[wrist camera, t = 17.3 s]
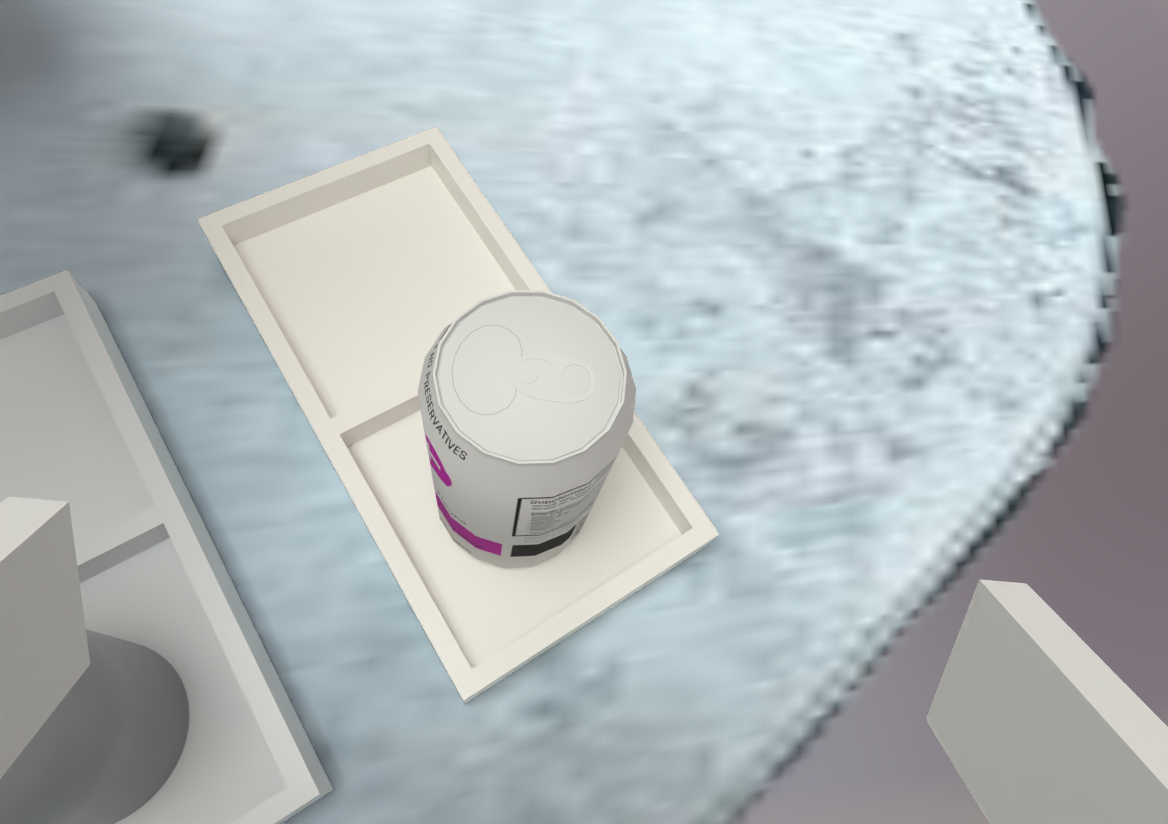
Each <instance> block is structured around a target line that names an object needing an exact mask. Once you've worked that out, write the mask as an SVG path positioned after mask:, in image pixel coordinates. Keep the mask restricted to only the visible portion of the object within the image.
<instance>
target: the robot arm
mask: <svg viewBox="0 0 1168 824" xmlns="http://www.w3.org/2000/svg"><path fill="white" fill-rule="evenodd" d="M89 665H90V658H89V650H88V643H87V635H86V627H85V620H84V612H83V605H82V597H81V589H80V582H79V574H78V567H77V559H76V552H75V544H74V536H73V529H72V521H71V514H70V506H69V502H66V501H54V500H42V499H30V498H19V497H8V498H6V499H5V500H4V501H3V502H1V503H0V779H1V778H2V776H3V775H4V774H5V773H6V771H7V770H8V769H9V768H10V766H11V765H12V764H13V762H14V761H15V760H16V759H17V757H18V756H19V755H20V753H21V752H22V751H23V750H24V748H25V747H26V746H27V745H28V743H29V742H30V741H31V739H32V738H33V737H34V736H35V734H36V733H37V732H38V730H39V729H40V728H41V727H42V725H43V724H44V723H45V721H46V720H47V719H48V718H49V716H50V715H51V714H52V713H53V711H54V710H55V709H56V707H57V706H58V705H59V704H60V702H61V701H62V700H63V698H64V697H65V696H66V695H67V693H68V692H69V691H70V689H71V688H72V687H73V686H74V684H75V683H76V682H77V681H78V679H79V678H80V677H81V675H82V674H83V673H84V672H85V670H86V669H87V668H88V666H89ZM926 720H927V722H928V724H929V725H930V727H931V729H932V730H933V732H934V733H935V735H936V737H937V738H938V740H939V741H940V743H941V745H942V746H943V748H944V750H945V751H946V753H947V755H948V756H949V758H950V760H951V761H952V763H953V764H954V766H955V768H956V769H957V771H958V773H959V774H960V776H961V777H962V779H963V781H964V782H965V784H966V785H967V787H968V789H969V790H970V792H971V794H972V795H973V797H974V799H975V800H976V802H977V804H978V805H979V807H980V808H981V810H982V812H983V813H984V815H985V817H986V818H987V820H988V822H989V823H990V824H1168V727H1167V726H1166V725H1165V724H1164V723H1163V722H1162V721H1161V720H1160V719H1159V718H1158V717H1157V716H1156V715H1155V714H1154V713H1153V712H1152V711H1151V710H1150V709H1149V708H1148V707H1147V706H1146V705H1145V704H1144V703H1143V702H1142V701H1141V700H1140V699H1139V697H1138V696H1136V694H1134V693H1133V691H1132V690H1131V689H1130V688H1129V687H1128V686H1127V685H1126V684H1125V683H1124V682H1123V681H1122V680H1120V678H1119V677H1118V676H1117V675H1116V674H1115V673H1114V672H1113V671H1112V670H1111V669H1110V668H1109V667H1108V666H1107V665H1106V664H1105V663H1104V662H1103V661H1102V660H1101V659H1100V658H1099V657H1098V656H1097V655H1096V654H1095V653H1094V652H1093V651H1092V650H1091V649H1090V648H1089V647H1088V646H1087V645H1086V644H1085V643H1084V642H1083V641H1082V640H1081V639H1080V638H1079V637H1078V636H1077V635H1076V634H1075V633H1074V631H1073V630H1072V629H1071V628H1069V626H1068V625H1067V624H1066V623H1065V622H1064V621H1063V620H1062V619H1061V618H1060V617H1059V616H1058V615H1057V614H1056V613H1055V612H1054V611H1053V610H1052V609H1051V608H1050V607H1049V606H1048V605H1047V604H1046V603H1045V602H1044V601H1043V600H1042V599H1041V598H1040V597H1039V596H1038V595H1037V594H1036V593H1035V592H1034V591H1033V590H1032V589H1031V588H1030V587H1029V586H1028V585H1027V584H1025V583H1012V582H1000V581H989V580H979V582H978V585H977V587H976V590H975V592H974V595H973V598H972V601H971V603H970V606H969V608H968V611H967V613H966V616H965V619H964V621H963V624H962V626H961V629H960V632H959V634H958V637H957V639H956V642H955V645H954V647H953V650H952V652H951V655H950V658H949V660H948V663H947V666H946V668H945V671H944V674H943V676H942V679H941V681H940V684H939V686H938V689H937V692H936V694H935V697H934V699H933V702H932V705H931V708H930V710H929V713H928V715H927V718H926Z"/></svg>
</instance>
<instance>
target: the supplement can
mask: <svg viewBox="0 0 1168 824" xmlns="http://www.w3.org/2000/svg"><path fill="white" fill-rule="evenodd" d="M635 393H636V388H635V384H634V381H633V378H632V374H631V371H630V367H629V364H628V361H627V357H626V355H625V354H624V352H623V351H622V350H621V348H620V347H619V344H618V342H617V340H616V339H615V338H614V336H613V335H612V334H611V332H610V331H609V330H608V328H607V327H606V326H605V324H604V323H603V322H602V320H601V319H600V318H599V317H598V316H596V315H595V314H593V313H592V312H591V311H589V310H588V309H586V308H585V307H583V306H582V305H581V304H579V303H578V302H576V301H575V300H573V299H569V298H566V297H563V296H560V295H557V294H553V293H550V292H547V291H544V290H510V291H507V292H504V293H500V294H497V295H494V296H491V297H488V298H484V299H481V300H479V301H478V302H477V303H475V304H474V305H473V306H471V307H470V308H469V309H467V310H466V311H464V312H463V313H462V314H460V315H459V316H458V317H456V318H455V320H454V321H453V322H452V323H451V324H449V325H448V326H447V327H445V328H444V329H443V331H442V332H441V334H440V335H439V337H438V338H437V340H436V341H435V343H434V344H433V346H432V347H431V349H430V350H429V352H428V353H427V355H426V356H425V358H424V363H423V368H422V373H421V377H420V382H419V387H418V397H419V403H420V409H421V415H422V420H423V426H424V432H425V438H426V443H427V449H428V455H429V461H430V466H431V472H432V478H433V484H434V489H435V495H436V500H437V506H438V511H439V517H440V520H441V521H442V523H443V524H444V526H445V528H446V529H447V531H448V533H449V534H450V536H451V537H452V539H453V541H454V542H455V543H456V544H458V545H459V546H460V547H462V548H463V549H464V550H465V551H467V552H468V553H469V554H471V555H472V556H473V557H474V558H476V559H478V560H481V561H485V562H488V563H491V564H494V565H497V566H501V567H522V566H533V565H535V564H538V563H540V562H543V561H545V560H547V559H550V558H552V557H555V556H557V555H558V554H559V553H560V552H562V551H563V550H564V549H565V548H566V547H567V546H568V545H569V544H570V543H571V542H572V541H573V540H574V539H576V538H577V537H578V535H579V533H580V531H581V529H582V527H583V525H584V523H585V521H586V519H587V517H588V515H589V513H590V511H591V508H592V506H593V504H594V502H595V500H596V498H597V496H598V494H599V492H600V490H601V488H602V486H603V484H604V482H605V480H606V477H607V475H608V473H609V471H610V469H611V467H612V465H613V463H614V461H615V459H616V457H617V455H618V453H619V451H620V449H621V446H622V444H623V442H624V440H625V438H626V436H627V434H628V432H629V430H630V428H631V426H632V424H633V416H634V404H635Z"/></svg>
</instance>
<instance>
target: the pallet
mask: <svg viewBox="0 0 1168 824" xmlns="http://www.w3.org/2000/svg"><path fill="white" fill-rule="evenodd" d="M197 220H198V222H199V224H200V226H201V227H202V229H203V231H204V233H205V235H206V237H207V239H208V241H209V242H210V244H211V246H212V248H213V250H214V252H215V254H216V255H217V257H218V259H219V261H220V263H221V264H222V266H223V268H224V270H225V272H226V274H227V275H228V277H229V279H230V281H231V283H232V284H233V286H234V288H235V290H236V292H237V293H238V295H239V297H240V299H241V301H242V302H243V304H244V306H245V308H246V310H247V311H248V313H249V315H250V317H251V319H252V321H253V322H254V324H255V326H256V328H257V330H258V331H259V333H260V335H261V337H262V339H263V340H264V342H265V344H266V346H267V348H268V349H269V351H270V353H271V355H272V357H273V358H274V360H275V362H276V364H277V366H278V368H279V369H280V371H281V373H282V375H283V377H284V378H285V380H286V382H287V384H288V386H289V387H290V389H291V391H292V393H293V395H294V396H295V398H296V400H297V402H298V404H299V406H300V407H301V409H302V411H303V413H304V415H305V416H306V418H307V420H308V422H309V424H310V425H311V427H312V429H313V431H314V433H315V434H316V436H317V438H318V440H319V442H320V443H321V445H322V447H323V449H324V451H325V453H326V454H327V456H328V458H329V460H330V462H331V463H332V465H333V467H334V469H335V471H336V472H337V474H338V476H339V478H340V480H341V481H342V483H343V485H344V487H345V489H346V490H347V492H348V494H349V496H350V498H351V500H352V501H353V503H354V505H355V507H356V509H357V510H358V512H359V514H360V516H361V518H362V519H363V521H364V523H365V525H366V527H367V528H368V530H369V532H370V534H371V536H372V538H373V539H374V541H375V543H376V545H377V547H378V548H379V550H380V552H381V554H382V556H383V557H384V559H385V561H386V563H387V565H388V566H389V568H390V570H391V572H392V574H393V575H394V577H395V579H396V581H397V583H398V585H399V586H400V588H401V590H402V592H403V594H404V595H405V597H406V599H407V601H408V603H409V604H410V606H411V608H412V610H413V612H414V613H415V615H416V617H417V619H418V621H419V623H420V624H421V626H422V628H423V630H424V632H425V633H426V635H427V637H428V639H429V641H430V642H431V644H432V646H433V648H434V650H435V651H436V653H437V655H438V657H439V659H440V660H441V662H442V664H443V666H444V668H445V670H446V671H447V673H448V675H449V677H450V679H451V680H452V682H453V684H454V686H455V688H456V689H457V691H458V693H459V695H460V697H461V698H462V700H463V702H464V704H466V703H467V702H469V701H470V700H472V699H473V698H475V697H476V696H478V695H479V694H481V693H483V692H484V691H486V690H487V689H489V688H490V687H492V686H493V685H495V684H496V683H498V682H499V681H501V680H502V679H504V678H506V677H507V676H509V675H510V674H512V673H513V672H515V671H516V670H518V669H519V668H521V667H522V666H524V665H525V664H527V663H529V662H530V661H532V660H533V659H535V658H536V657H538V656H539V655H541V654H542V653H544V652H545V651H547V650H548V649H550V648H552V647H553V646H555V645H556V644H558V643H559V642H561V641H562V640H564V639H565V638H567V637H568V636H570V635H571V634H573V633H575V632H576V631H578V630H579V629H581V628H582V627H584V626H585V625H587V624H588V623H590V622H591V621H593V620H595V619H596V618H598V617H599V616H601V615H602V614H604V613H605V612H607V611H608V610H610V609H611V608H613V607H614V606H616V605H618V604H619V603H621V602H622V601H624V600H625V599H627V598H628V597H630V596H631V595H633V594H634V593H636V592H637V591H639V590H641V589H642V588H644V587H645V586H647V585H648V584H650V583H651V582H653V581H654V580H656V579H657V578H659V577H660V576H662V575H664V574H665V573H667V572H668V571H670V570H671V569H673V568H674V567H676V566H677V565H679V564H680V563H682V562H684V561H685V560H687V559H688V558H690V557H691V556H693V555H694V554H696V553H697V552H699V551H700V550H702V549H703V548H704V547H705V546H706V545H708V544H709V543H710V542H711V541H712V540H713V539H715V538H716V537H717V536H718V535H719V533H718V532H717V530H716V529H715V527H714V526H713V524H712V523H711V522H710V520H709V519H708V517H707V516H706V514H705V513H704V511H703V510H702V509H701V507H700V506H699V504H698V503H697V501H696V500H695V498H694V497H693V496H692V494H691V493H690V491H689V490H688V488H687V487H686V486H685V484H684V483H683V481H682V480H681V478H680V477H679V475H678V474H677V473H676V471H675V470H674V468H673V467H672V465H671V464H670V462H669V461H668V460H667V458H666V457H665V455H664V454H663V452H662V451H661V450H660V448H659V447H658V445H657V444H656V442H655V441H654V439H653V438H652V437H651V435H650V434H649V432H648V431H647V429H646V428H645V427H644V425H643V424H642V422H641V421H640V419H639V418H638V416H637V415H636V414H635V412H634V416H633V424H632V426H631V428H630V430H629V432H628V434H627V436H626V438H625V440H624V442H623V444H622V446H621V449H620V451H619V453H618V455H617V457H616V459H615V461H614V463H613V465H612V467H611V469H610V471H609V473H608V475H607V477H606V480H605V482H604V484H603V486H602V488H601V490H600V492H599V494H598V496H597V498H596V500H595V502H594V504H593V506H592V508H591V511H590V513H589V515H588V517H587V519H586V521H585V523H584V525H583V527H582V529H581V531H580V533H579V535H578V537H577V538H576V539H574V540H573V541H572V542H571V543H570V544H569V545H568V546H567V547H566V548H565V549H564V550H563V551H562V552H560V553H559V554H558V555H557V556H555V557H552V558H550V559H547V560H545V561H543V562H540V563H538V564H535V565H533V566H522V567H501V566H497V565H494V564H491V563H488V562H485V561H481V560H478V559H476V558H474V557H473V556H472V555H471V554H469V553H468V552H467V551H465V550H464V549H463V548H462V547H460V546H459V545H458V544H456V543H455V542H454V541H453V539H452V537H451V536H450V534H449V533H448V531H447V529H446V528H445V526H444V524H443V523H442V521H441V520H440V517H439V511H438V506H437V500H436V495H435V489H434V484H433V478H432V472H431V466H430V461H429V455H428V449H427V443H426V438H425V432H424V426H423V420H422V415H421V409H420V403H419V397H418V387H419V382H420V377H421V373H422V368H423V363H424V358H425V356H426V355H427V353H428V352H429V350H430V349H431V347H432V346H433V344H434V343H435V341H436V340H437V338H438V337H439V335H440V334H441V332H442V331H443V329H444V328H445V327H447V326H448V325H449V324H451V323H452V322H453V321H454V320H455V318H456V317H458V316H459V315H460V314H462V313H463V312H464V311H466V310H467V309H469V308H470V307H471V306H473V305H474V304H475V303H477V302H478V301H479V300H481V299H484V298H488V297H491V296H494V295H497V294H500V293H504V292H507V291H510V290H544V291H547V292H550V293H551V291H550V290H549V288H548V287H547V285H546V284H545V283H544V281H543V280H542V278H541V277H540V275H539V274H538V272H537V271H536V270H535V268H534V267H533V265H532V264H531V262H530V261H529V259H528V258H527V257H526V255H525V254H524V252H523V251H522V249H521V248H520V247H519V245H518V244H517V242H516V241H515V239H514V238H513V236H512V235H511V234H510V232H509V231H508V229H507V228H506V226H505V225H504V224H503V222H502V221H501V219H500V218H499V216H498V215H497V213H496V212H495V211H494V209H493V208H492V206H491V205H490V203H489V202H488V200H487V199H486V198H485V196H484V195H483V193H482V192H481V190H480V189H479V188H478V186H477V185H476V183H475V182H474V180H473V179H472V177H471V176H470V175H469V173H468V172H467V170H466V169H465V167H464V166H463V164H462V163H461V162H460V160H459V159H458V157H457V156H456V154H455V153H454V152H453V150H452V149H451V147H450V146H449V144H448V143H447V141H446V140H445V139H444V137H443V136H442V134H441V133H440V131H439V130H438V128H437V127H434V128H431V129H428V130H426V131H423V132H421V133H418V134H415V135H413V136H410V137H408V138H405V139H403V140H400V141H397V142H395V143H392V144H390V145H387V146H385V147H382V148H379V149H377V150H374V151H372V152H369V153H366V154H364V155H361V156H359V157H356V158H354V159H351V160H348V161H346V162H343V163H341V164H338V165H335V166H333V167H330V168H328V169H325V170H323V171H320V172H317V173H315V174H312V175H310V176H307V177H304V178H302V179H299V180H297V181H294V182H292V183H289V184H286V185H284V186H281V187H279V188H276V189H273V190H271V191H268V192H266V193H263V194H261V195H258V196H255V197H253V198H250V199H248V200H245V201H242V202H240V203H237V204H235V205H232V206H230V207H227V208H224V209H222V210H219V211H217V212H214V213H211V214H209V215H206V216H204V217H201V218H199V219H197Z"/></svg>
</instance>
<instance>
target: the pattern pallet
mask: <svg viewBox="0 0 1168 824" xmlns="http://www.w3.org/2000/svg"><path fill="white" fill-rule="evenodd" d="M8 497H19V498H30V499H42V500H54V501H66V502H69V506H70V514H71V521H72V529H73V536H74V544H75V552H76V559H77V567H78V574H79V582H80V589H81V597H82V605H83V612H84V620H85V627H86V635H87V643H88V650H89V658H90V665H89V666H88V668H87V669H86V670H85V672H84V673H83V674H82V675H81V677H80V678H79V679H78V681H77V682H76V683H75V684H74V686H73V687H72V688H71V689H70V691H69V692H68V693H67V695H66V696H65V697H64V698H63V700H62V701H61V702H60V704H59V705H58V706H57V707H56V709H55V710H54V711H53V713H52V714H51V715H50V716H49V718H48V719H47V720H46V721H45V723H44V724H43V725H42V727H41V728H40V729H39V730H38V732H37V733H36V734H35V736H34V737H33V738H32V739H31V741H30V742H29V743H28V745H27V746H26V747H25V748H24V750H23V751H22V752H21V753H20V755H19V756H18V757H17V759H16V760H15V761H14V762H13V764H12V765H11V766H10V768H9V769H8V770H7V771H6V773H5V774H4V775H3V776H2V778H1V779H0V824H282V823H283V822H285V821H286V820H288V819H289V818H291V817H292V816H294V815H295V814H297V813H298V812H300V811H301V810H303V809H305V808H306V807H308V806H309V805H311V804H312V803H314V802H315V801H317V800H318V799H320V798H321V797H323V796H324V795H326V794H328V793H329V792H331V791H332V790H334V789H333V787H332V785H331V783H330V781H329V779H328V777H327V775H326V773H325V771H324V769H323V767H322V765H321V763H320V761H319V759H318V757H317V755H316V752H315V750H314V748H313V746H312V744H311V742H310V740H309V738H308V736H307V734H306V732H305V730H304V728H303V726H302V724H301V722H300V720H299V718H298V716H297V713H296V711H295V709H294V707H293V705H292V703H291V701H290V699H289V697H288V695H287V693H286V691H285V689H284V687H283V685H282V683H281V681H280V679H279V677H278V674H277V672H276V670H275V668H274V666H273V664H272V662H271V660H270V658H269V656H268V654H267V652H266V650H265V648H264V646H263V644H262V642H261V640H260V638H259V636H258V633H257V631H256V629H255V627H254V625H253V623H252V621H251V619H250V617H249V615H248V613H247V611H246V609H245V607H244V605H243V603H242V601H241V599H240V597H239V594H238V592H237V590H236V588H235V586H234V584H233V582H232V580H231V578H230V576H229V574H228V572H227V570H226V568H225V566H224V564H223V562H222V560H221V558H220V556H219V553H218V551H217V549H216V547H215V545H214V543H213V541H212V539H211V537H210V535H209V533H208V531H207V529H206V527H205V525H204V523H203V521H202V519H201V517H200V514H199V512H198V510H197V508H196V506H195V504H194V502H193V500H192V498H191V496H190V494H189V492H188V490H187V488H186V486H185V484H184V482H183V480H182V478H181V475H180V473H179V471H178V469H177V467H176V465H175V463H174V461H173V459H172V457H171V455H170V453H169V451H168V449H167V447H166V445H165V443H164V441H163V439H162V437H161V434H160V432H159V430H158V428H157V426H156V424H155V422H154V420H153V418H152V416H151V414H150V412H149V410H148V408H147V406H146V404H145V402H144V400H143V398H142V395H141V393H140V391H139V389H138V387H137V385H136V383H135V381H134V379H133V377H132V375H131V373H130V371H129V369H128V367H127V365H126V363H125V361H124V359H123V356H122V354H121V352H120V350H119V348H118V346H117V344H116V342H115V340H114V338H113V336H112V334H111V332H110V330H109V328H108V326H107V324H106V322H105V320H104V318H103V315H102V313H101V311H100V309H99V307H98V305H97V303H96V302H95V301H94V300H93V299H92V297H91V296H90V295H89V294H88V293H87V292H86V291H85V289H84V288H83V287H82V286H81V285H80V284H79V282H78V281H77V280H76V279H75V278H74V277H73V276H72V274H71V273H70V272H69V271H68V270H64V271H62V272H59V273H56V274H54V275H51V276H49V277H46V278H44V279H41V280H38V281H36V282H33V283H31V284H28V285H25V286H23V287H20V288H18V289H15V290H13V291H10V292H7V293H5V294H2V295H0V503H1V502H3V501H4V500H5V499H6V498H8Z"/></svg>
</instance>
